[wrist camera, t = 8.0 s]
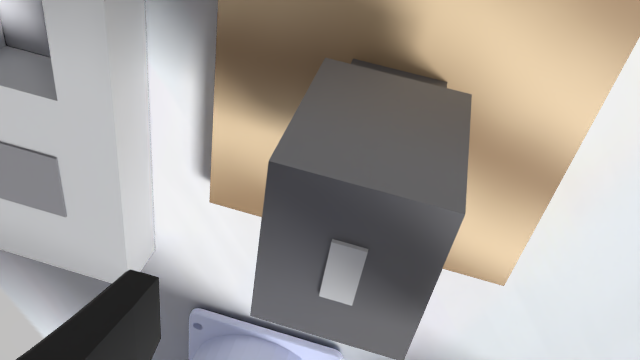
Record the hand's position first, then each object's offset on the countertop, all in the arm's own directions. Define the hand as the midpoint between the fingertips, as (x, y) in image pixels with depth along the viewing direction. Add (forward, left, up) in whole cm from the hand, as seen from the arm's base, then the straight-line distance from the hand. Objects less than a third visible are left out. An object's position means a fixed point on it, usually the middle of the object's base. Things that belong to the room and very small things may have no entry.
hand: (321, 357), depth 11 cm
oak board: (0, 0, -10) cm, 10 cm away
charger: (+1, 0, -10) cm, 10 cm away
